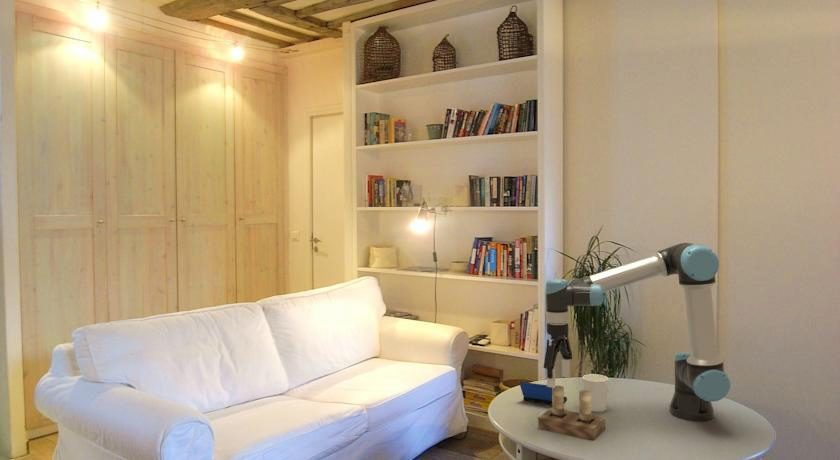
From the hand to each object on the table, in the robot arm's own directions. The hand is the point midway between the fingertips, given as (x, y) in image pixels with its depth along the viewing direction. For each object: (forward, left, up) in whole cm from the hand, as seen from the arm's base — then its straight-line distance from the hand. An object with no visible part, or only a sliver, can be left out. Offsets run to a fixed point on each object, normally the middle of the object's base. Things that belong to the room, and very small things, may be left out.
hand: (558, 382), depth 215 cm
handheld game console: (+15, -21, -17) cm, 31 cm away
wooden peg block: (-5, 0, -16) cm, 17 cm away
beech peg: (0, 0, -16) cm, 16 cm away
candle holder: (-5, -25, -16) cm, 30 cm away
